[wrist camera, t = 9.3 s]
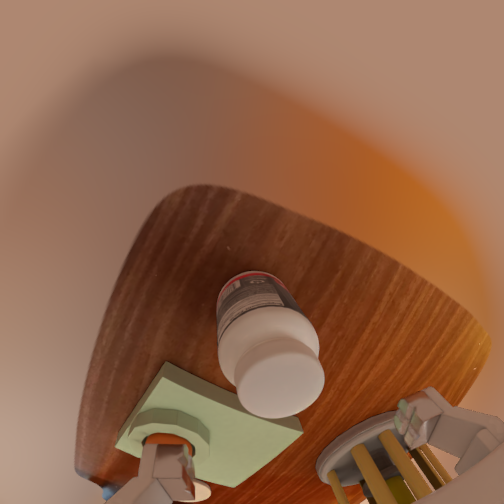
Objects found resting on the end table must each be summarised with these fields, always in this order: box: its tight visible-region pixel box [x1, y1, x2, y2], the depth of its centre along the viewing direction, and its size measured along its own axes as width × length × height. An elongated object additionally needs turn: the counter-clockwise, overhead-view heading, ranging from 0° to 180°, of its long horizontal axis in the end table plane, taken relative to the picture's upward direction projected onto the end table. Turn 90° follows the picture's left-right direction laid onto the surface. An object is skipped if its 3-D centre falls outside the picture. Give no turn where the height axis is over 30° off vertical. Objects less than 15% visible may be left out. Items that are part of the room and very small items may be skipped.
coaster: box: [182, 479, 211, 502], centre depth 26 cm, size 7×7×1 cm
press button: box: [145, 432, 192, 456], centre depth 18 cm, size 4×4×2 cm
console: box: [115, 361, 304, 487], centre depth 22 cm, size 14×12×4 cm
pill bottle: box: [216, 271, 325, 418], centre depth 16 cm, size 5×5×10 cm
